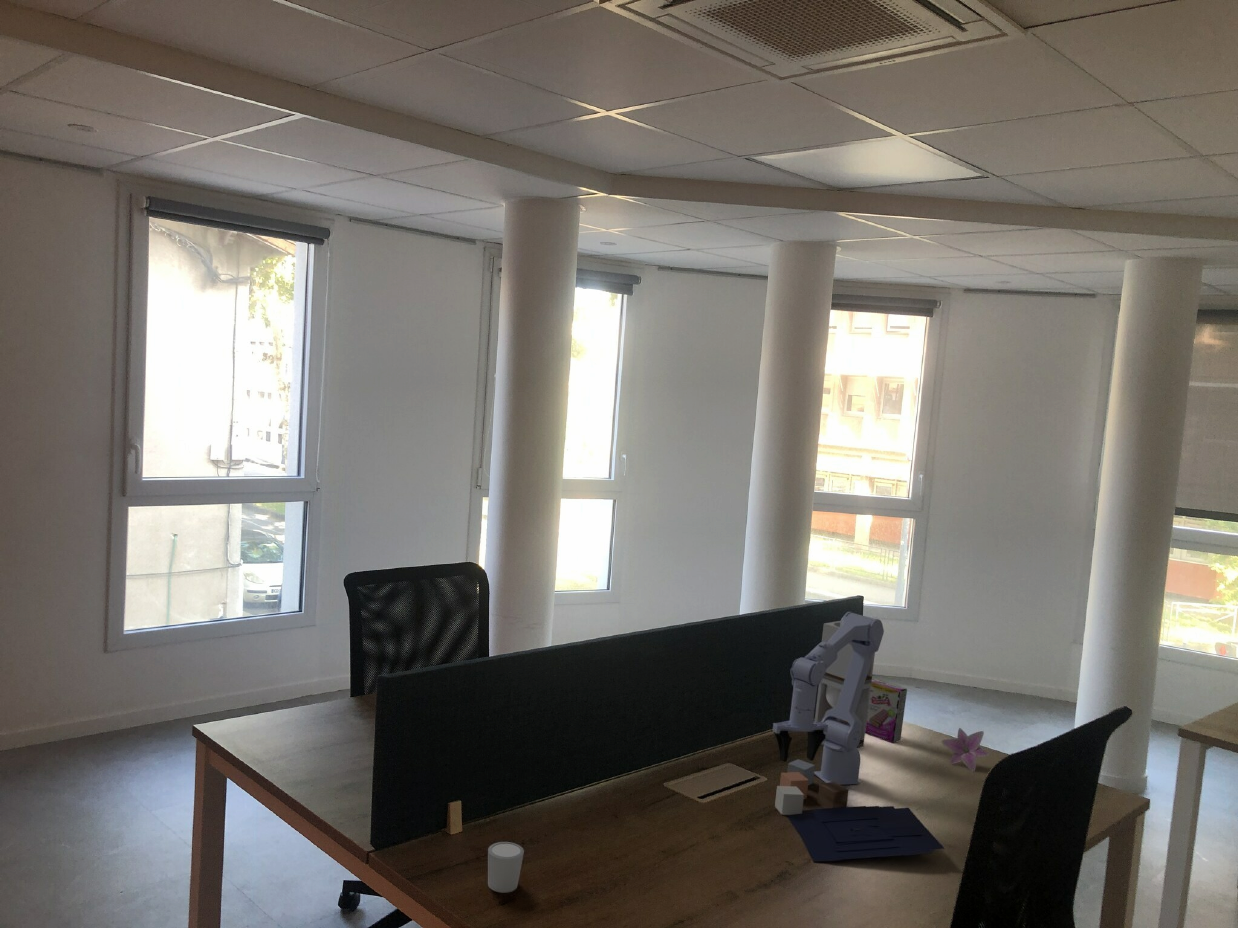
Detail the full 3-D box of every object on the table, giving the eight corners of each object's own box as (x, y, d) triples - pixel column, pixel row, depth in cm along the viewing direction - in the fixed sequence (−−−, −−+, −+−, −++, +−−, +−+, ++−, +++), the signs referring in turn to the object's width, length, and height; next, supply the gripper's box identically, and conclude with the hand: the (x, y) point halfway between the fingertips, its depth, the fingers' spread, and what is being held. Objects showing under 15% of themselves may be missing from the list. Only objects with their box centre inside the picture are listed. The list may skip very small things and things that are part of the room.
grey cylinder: (485, 874, 186) (489, 840, 186) (521, 876, 187) (524, 841, 186) (483, 893, 179) (487, 857, 179) (520, 895, 180) (523, 859, 179)
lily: (934, 758, 279) (936, 735, 274) (965, 740, 283) (967, 717, 278) (965, 786, 270) (967, 762, 265) (996, 767, 274) (999, 744, 269)
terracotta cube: (796, 790, 243) (798, 771, 242) (806, 799, 238) (808, 779, 237) (778, 791, 241) (781, 772, 240) (788, 800, 236) (791, 780, 236)
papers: (948, 864, 207) (948, 848, 207) (814, 874, 205) (813, 858, 204) (905, 814, 231) (905, 800, 231) (784, 822, 229) (784, 808, 229)
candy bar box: (860, 732, 292) (866, 680, 291) (868, 729, 296) (874, 677, 295) (893, 744, 285) (900, 690, 283) (901, 740, 288) (908, 687, 287)
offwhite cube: (794, 806, 232) (796, 786, 232) (801, 815, 228) (803, 794, 227) (774, 805, 232) (777, 785, 231) (781, 814, 227) (783, 793, 227)
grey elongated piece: (810, 739, 281) (823, 623, 278) (830, 733, 288) (844, 620, 286) (842, 753, 273) (857, 633, 270) (863, 746, 280) (877, 629, 277)
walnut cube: (831, 800, 239) (833, 781, 238) (846, 808, 234) (848, 789, 234) (817, 803, 236) (819, 784, 235) (832, 812, 232) (834, 792, 231)
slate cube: (795, 777, 251) (798, 758, 251) (812, 783, 248) (814, 765, 248) (786, 781, 248) (788, 763, 247) (803, 788, 244) (805, 769, 244)
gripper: (819, 700, 244) (813, 752, 245) (769, 701, 239) (763, 754, 240) (834, 710, 237) (828, 763, 238) (783, 711, 232) (777, 765, 233)
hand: (796, 759), depth 239 cm, fingers open, 7 cm apart
